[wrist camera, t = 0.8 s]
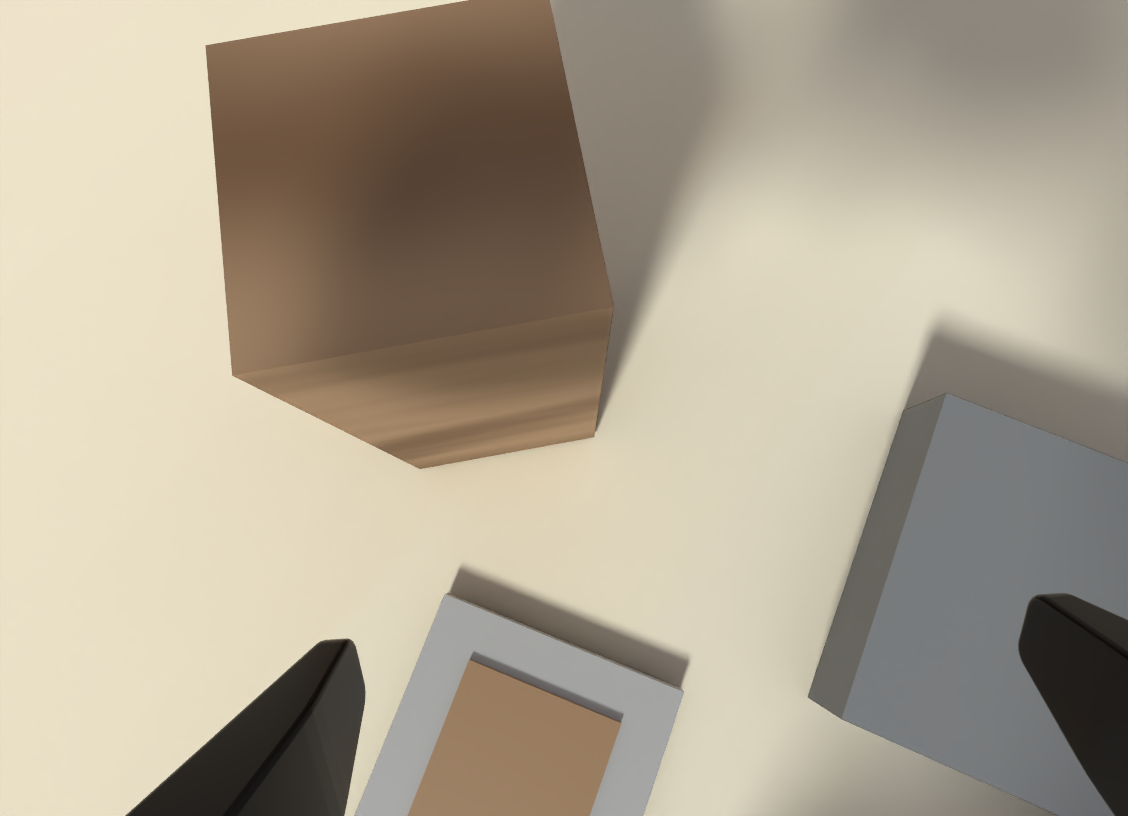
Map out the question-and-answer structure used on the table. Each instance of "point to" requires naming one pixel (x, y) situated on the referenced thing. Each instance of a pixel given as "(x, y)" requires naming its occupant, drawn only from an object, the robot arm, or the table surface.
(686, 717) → the table surface
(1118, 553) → the slate block
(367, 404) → the walnut pillar
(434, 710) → the tile
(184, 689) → the table surface
